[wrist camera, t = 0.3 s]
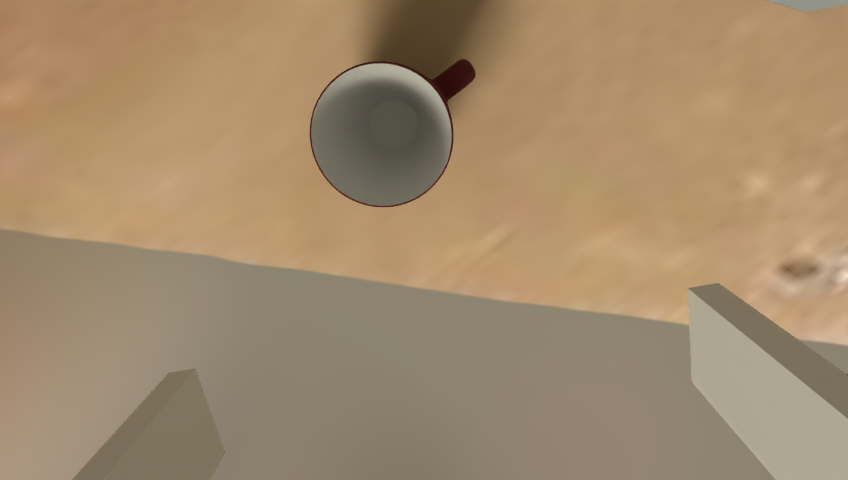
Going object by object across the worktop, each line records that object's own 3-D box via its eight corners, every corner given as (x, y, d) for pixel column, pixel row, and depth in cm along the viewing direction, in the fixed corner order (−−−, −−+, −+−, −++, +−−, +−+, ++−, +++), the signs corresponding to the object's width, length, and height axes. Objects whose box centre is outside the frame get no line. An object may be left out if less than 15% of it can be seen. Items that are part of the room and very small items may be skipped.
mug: (419, 14, 36) (413, -10, 27) (496, 100, 38) (518, 106, 28) (317, 122, 39) (279, 135, 29) (394, 199, 40) (382, 236, 31)
